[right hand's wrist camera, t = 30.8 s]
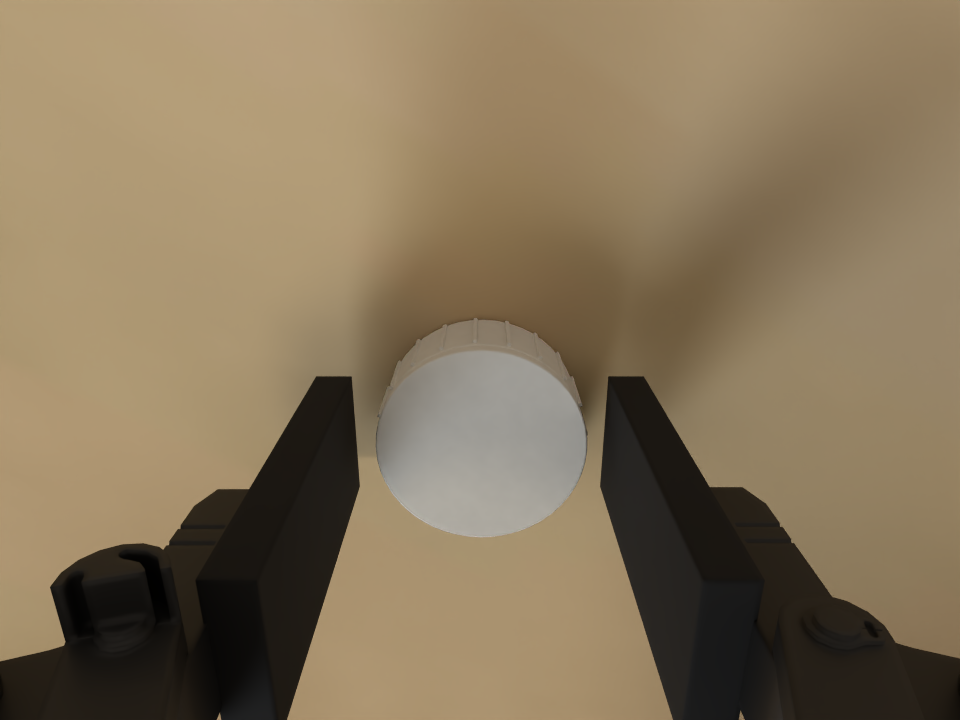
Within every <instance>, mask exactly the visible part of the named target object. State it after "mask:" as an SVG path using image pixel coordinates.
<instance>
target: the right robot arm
mask: <svg viewBox="0 0 960 720" xmlns="http://www.w3.org/2000/svg"><path fill="white" fill-rule="evenodd" d="M359 487H360V483H359V469H358V456H357V442H356V429H355V416H354V402H353V389H352V377H316V378H315V380H314V381H313V383H312V385H311V386H310V388H309V390H308V391H307V393H306V395H305V396H304V398H303V400H302V401H301V403H300V405H299V406H298V408H297V410H296V412H295V413H294V415H293V417H292V418H291V420H290V422H289V423H288V425H287V427H286V428H285V430H284V432H283V433H282V435H281V437H280V438H279V440H278V442H277V443H276V445H275V447H274V449H273V450H272V452H271V454H270V455H269V457H268V459H267V460H266V462H265V464H264V465H263V467H262V469H261V470H260V472H259V474H258V475H257V477H256V479H255V480H254V482H253V484H252V485H251V487H250V489H218V490H216V491H215V492H213V493H212V494H211V495H209V496H208V497H206V498H205V499H204V500H202V501H201V502H199V503H198V504H196V505H195V506H194V507H193V509H192V510H191V511H190V513H189V514H188V516H187V517H186V519H185V520H184V521H183V523H182V524H181V529H178V530H177V531H176V533H175V534H174V536H173V537H172V538H171V540H170V541H169V546H166V547H165V548H164V550H162V549H161V548H160V547H157V546H152V545H148V544H144V543H142V544H123V545H119V546H115V547H111V548H107V549H103V550H100V551H97V552H95V553H93V554H91V555H89V556H86V557H84V558H82V559H80V560H78V561H77V562H75V563H74V564H72V565H71V566H70V567H68V568H67V569H66V570H64V571H63V572H61V573H60V575H59V576H58V577H57V579H56V580H55V581H54V583H53V584H52V585H51V587H50V589H51V592H52V596H53V599H54V603H55V606H56V610H57V613H58V617H59V620H60V624H61V627H62V631H63V634H64V638H65V641H66V642H65V645H64V646H62V647H59V648H55V649H52V650H49V651H44V652H40V653H35V654H31V655H27V656H22V657H18V658H14V659H9V660H5V661H0V720H217V718H218V715H219V713H220V715H221V720H287V718H288V715H289V711H290V708H291V705H292V702H293V699H294V695H295V692H296V689H297V686H298V683H299V679H300V676H301V673H302V670H303V667H304V663H305V660H306V657H307V654H308V650H309V647H310V644H311V641H312V638H313V634H314V631H315V628H316V625H317V622H318V618H319V615H320V612H321V609H322V606H323V602H324V599H325V596H326V593H327V590H328V586H329V583H330V580H331V577H332V574H333V570H334V567H335V564H336V561H337V558H338V554H339V551H340V548H341V545H342V542H343V538H344V535H345V532H346V529H347V526H348V522H349V519H350V516H351V513H352V510H353V506H354V503H355V500H356V497H357V494H358V490H359ZM600 487H601V490H602V494H603V497H604V500H605V503H606V506H607V510H608V513H609V516H610V519H611V522H612V526H613V529H614V532H615V535H616V538H617V542H618V545H619V548H620V551H621V554H622V558H623V561H624V564H625V567H626V570H627V574H628V577H629V580H630V583H631V586H632V590H633V593H634V596H635V599H636V602H637V606H638V609H639V612H640V615H641V618H642V622H643V625H644V628H645V631H646V634H647V638H648V641H649V644H650V647H651V650H652V654H653V657H654V660H655V663H656V666H657V670H658V673H659V676H660V679H661V682H662V686H663V689H664V692H665V695H666V698H667V702H668V705H669V708H670V711H671V714H672V718H673V720H739V715H740V710H741V712H742V714H743V717H744V719H745V720H960V659H959V658H954V657H950V656H946V655H941V654H937V653H932V652H928V651H924V650H919V649H915V648H911V647H908V646H904V645H901V644H897V643H895V641H894V639H893V638H892V636H891V635H890V633H889V632H888V630H887V629H886V627H885V626H884V625H883V624H882V623H881V622H879V621H878V620H877V619H876V618H875V617H873V616H872V615H871V614H870V613H869V612H867V611H865V610H863V609H861V608H859V607H857V606H855V605H853V604H851V603H849V602H848V601H844V600H841V599H837V598H834V597H832V596H831V595H830V593H829V592H828V590H827V589H826V588H825V586H824V585H823V583H822V582H821V581H820V579H819V578H818V576H817V575H816V573H815V572H814V571H813V569H812V568H811V566H810V565H809V564H808V562H807V561H806V559H805V558H804V557H803V555H802V554H801V552H800V551H799V550H798V548H797V547H796V545H795V544H794V543H791V538H790V537H789V536H788V534H787V533H786V531H785V530H784V528H783V527H780V523H779V521H778V520H777V519H776V517H775V516H774V514H773V513H772V512H771V510H770V509H769V507H768V506H767V505H766V504H765V503H764V502H763V501H761V500H760V499H758V498H757V497H756V496H754V495H753V494H751V493H750V492H748V491H747V490H746V489H744V488H743V487H709V485H708V484H707V482H706V480H705V479H704V477H703V475H702V474H701V472H700V470H699V469H698V467H697V465H696V464H695V462H694V460H693V459H692V457H691V455H690V454H689V452H688V450H687V448H686V447H685V445H684V443H683V442H682V440H681V438H680V437H679V435H678V433H677V432H676V430H675V428H674V427H673V425H672V423H671V422H670V420H669V418H668V417H667V415H666V413H665V411H664V410H663V408H662V406H661V405H660V403H659V401H658V400H657V398H656V396H655V395H654V393H653V391H652V390H651V388H650V386H649V385H648V383H647V381H646V380H645V378H644V377H608V389H607V402H606V416H605V429H604V443H603V456H602V469H601V483H600Z"/></svg>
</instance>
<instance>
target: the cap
mask: <svg viewBox="0 0 960 720" xmlns="http://www.w3.org/2000/svg"><path fill="white" fill-rule="evenodd" d="M581 406H582V403H581V399H580V396H579V393H578V390H577V387H576V384H575V381H574V378H573V376H571V377H570V375H569V373H568V371H567V369H566V367H565V365H564V364H563V362H562V360H561V357H560V354H559V352H558V351H557V352H556V353H555V351H554V350H553V349H552V348H551V347H550V346H549V345H548V344H546V343H545V342H544V341H543V340H542V339H540V338H539V337H538V335H537V333H535V332H534V333H531V332H529V331H527V330H525V329H523V328H521V327H518V326H515V325H512V324H509V321H505V322H500V321H494V320H478V319H477V318H474V320H469V321H463V322H458V323H454V324H451V325H448V326H447V324H445V325H443V328H440V329H438V330H436V331H434V332H432V333H431V334H429V335H427V336H426V337H424V338H423V339H422V340H420V339H418V340H417V341H416V344H415V345H414V346H413V347H412V349H411V350H410V351H409V352H408V353H407V354H406V355H405V357H404V358H403V360H402V361H398V362H397V365H396V368H395V371H394V374H393V377H392V380H391V383H390V386H387V389H386V392H385V395H384V398H383V401H382V404H381V407H380V410H379V413H378V417H379V418H380V419H379V422H378V427H377V433H376V452H377V460H378V463H379V467H380V471H381V473H382V475H383V478H384V480H385V482H386V484H387V486H388V487H389V489H390V491H391V492H392V494H393V495H394V496H395V497H396V499H397V500H398V501H399V502H400V503H401V504H402V505H403V506H404V507H405V508H406V509H407V510H408V511H409V512H410V513H412V514H413V515H414V516H416V517H417V518H418V519H420V520H422V521H424V522H425V523H427V524H429V525H431V526H433V527H435V528H438V529H440V530H443V531H446V532H449V533H453V534H457V535H463V536H470V537H494V536H501V535H507V534H510V533H514V532H518V531H521V530H523V529H526V528H528V527H531V526H532V525H534V524H536V523H538V522H540V521H542V520H543V519H545V518H546V517H548V516H549V515H550V514H552V513H553V512H554V511H555V510H556V509H557V508H559V507H560V506H561V505H562V504H563V502H564V501H565V500H566V499H567V498H568V497H569V495H570V494H571V492H572V491H573V489H574V488H575V486H576V484H577V482H578V480H579V478H580V476H581V474H582V471H583V467H584V464H585V460H586V453H587V429H586V426H585V423H584V419H583V416H582V412H581V409H580V407H581Z"/></svg>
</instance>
